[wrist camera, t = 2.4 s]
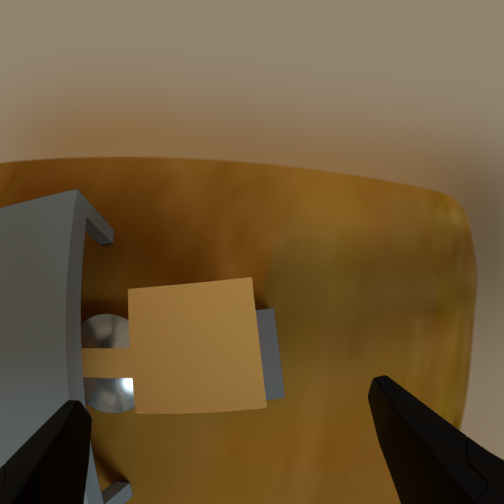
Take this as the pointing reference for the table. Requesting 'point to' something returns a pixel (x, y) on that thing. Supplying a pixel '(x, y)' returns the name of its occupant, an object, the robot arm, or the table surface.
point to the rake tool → (195, 349)
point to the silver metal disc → (107, 389)
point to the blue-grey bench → (45, 319)
